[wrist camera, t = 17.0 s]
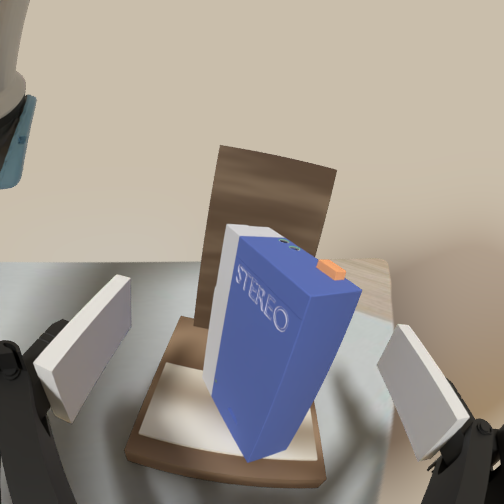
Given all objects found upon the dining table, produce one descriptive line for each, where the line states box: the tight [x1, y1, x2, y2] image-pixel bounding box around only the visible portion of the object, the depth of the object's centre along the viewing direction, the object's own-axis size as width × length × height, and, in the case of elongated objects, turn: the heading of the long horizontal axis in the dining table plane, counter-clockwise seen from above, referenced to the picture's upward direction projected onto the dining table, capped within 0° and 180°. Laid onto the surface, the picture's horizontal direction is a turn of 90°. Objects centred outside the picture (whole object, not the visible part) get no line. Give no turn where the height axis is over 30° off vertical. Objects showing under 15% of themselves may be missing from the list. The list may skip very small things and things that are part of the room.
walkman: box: [202, 224, 362, 463], centre depth 15 cm, size 8×3×12 cm, turn 27°
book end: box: [124, 145, 337, 488], centre depth 17 cm, size 16×12×18 cm
